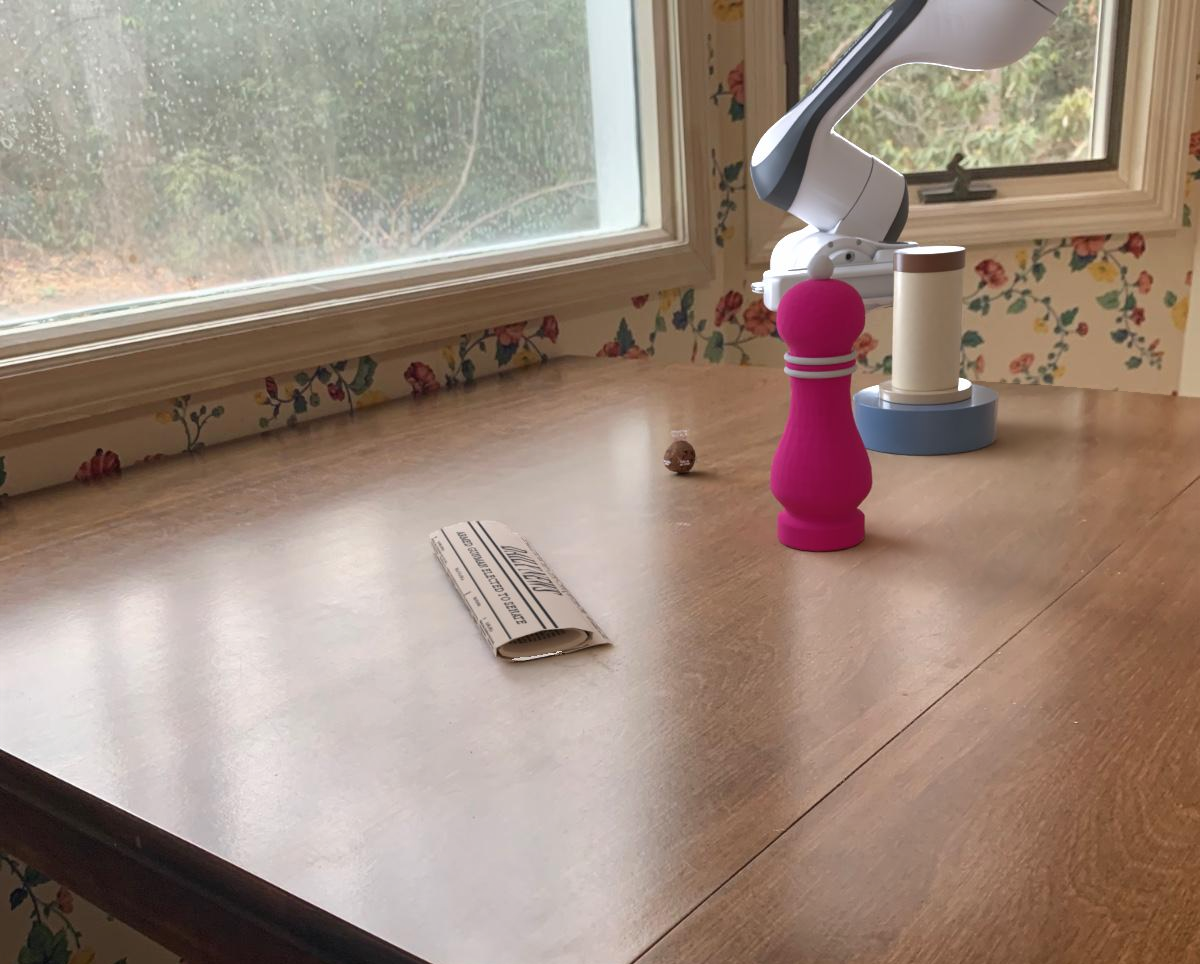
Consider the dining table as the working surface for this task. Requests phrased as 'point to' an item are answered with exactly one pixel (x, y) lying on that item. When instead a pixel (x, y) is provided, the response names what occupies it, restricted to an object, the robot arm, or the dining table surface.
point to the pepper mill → (821, 416)
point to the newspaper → (512, 592)
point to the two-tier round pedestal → (926, 419)
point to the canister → (927, 317)
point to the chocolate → (680, 455)
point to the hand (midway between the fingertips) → (885, 292)
